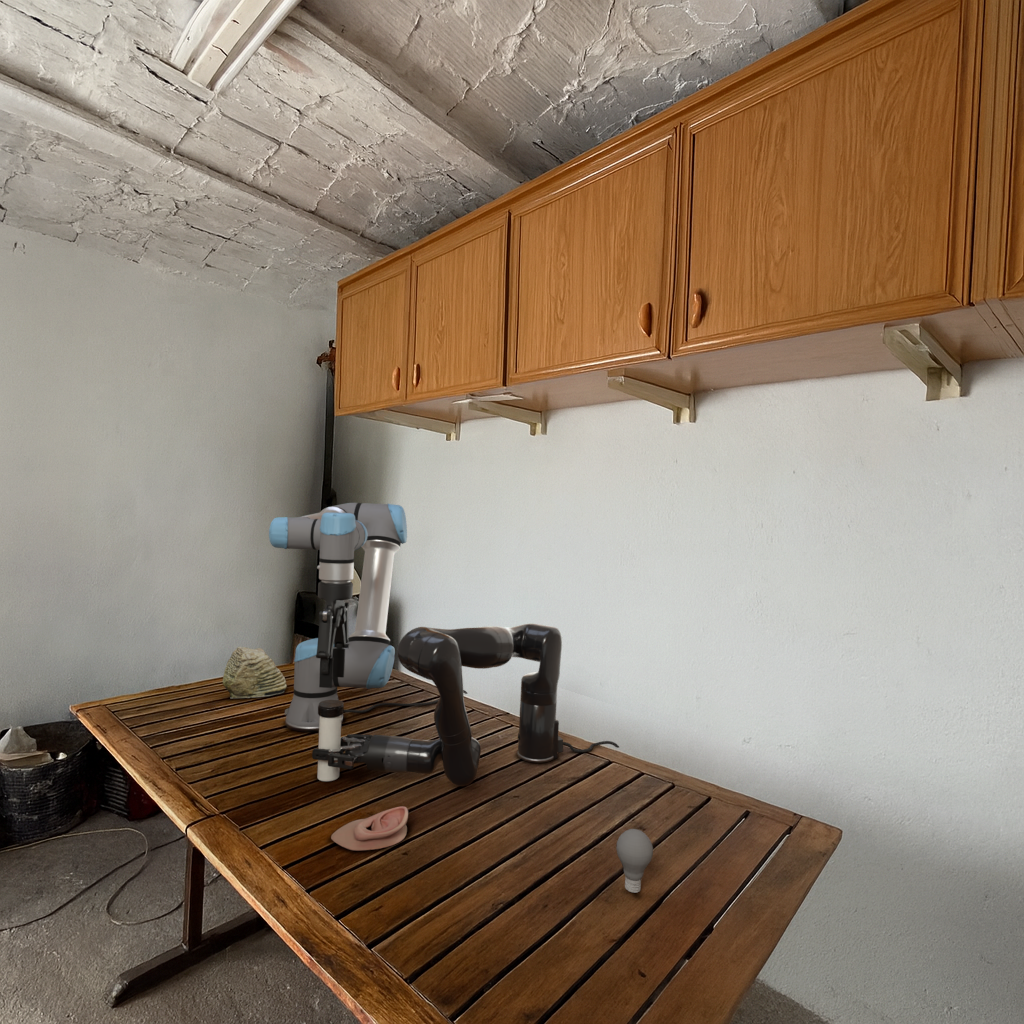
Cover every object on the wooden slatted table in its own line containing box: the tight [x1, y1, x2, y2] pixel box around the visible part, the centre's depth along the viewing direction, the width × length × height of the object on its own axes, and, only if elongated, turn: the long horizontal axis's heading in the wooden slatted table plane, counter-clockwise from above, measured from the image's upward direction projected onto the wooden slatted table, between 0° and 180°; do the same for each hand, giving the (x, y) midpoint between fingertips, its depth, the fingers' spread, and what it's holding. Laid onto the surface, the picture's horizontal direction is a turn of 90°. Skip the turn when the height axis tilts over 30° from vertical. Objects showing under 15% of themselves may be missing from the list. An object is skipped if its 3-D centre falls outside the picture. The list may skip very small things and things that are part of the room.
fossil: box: [222, 646, 288, 699], centre depth 198 cm, size 9×18×15 cm, turn 132°
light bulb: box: [615, 828, 654, 894], centre depth 106 cm, size 6×6×10 cm
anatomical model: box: [330, 805, 409, 852], centre depth 119 cm, size 13×4×12 cm
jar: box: [316, 715, 342, 782], centre depth 143 cm, size 5×5×16 cm
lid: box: [318, 699, 345, 718], centre depth 143 cm, size 6×6×2 cm
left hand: (332, 681), depth 143 cm, fingers open, 8 cm apart
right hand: (319, 747), depth 144 cm, fingers open, 6 cm apart
